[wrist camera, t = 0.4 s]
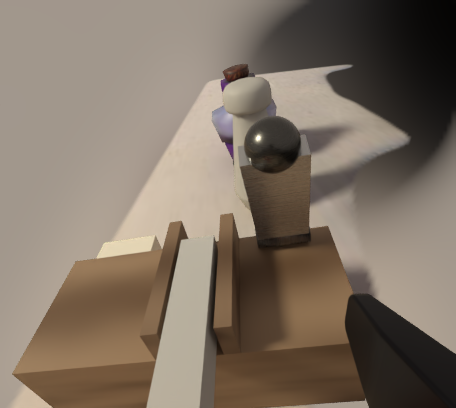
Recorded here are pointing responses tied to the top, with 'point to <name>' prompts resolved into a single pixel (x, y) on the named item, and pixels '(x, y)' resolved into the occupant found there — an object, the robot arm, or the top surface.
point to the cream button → (129, 246)
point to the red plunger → (188, 331)
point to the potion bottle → (225, 120)
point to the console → (223, 326)
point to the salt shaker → (245, 117)
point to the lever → (277, 181)
